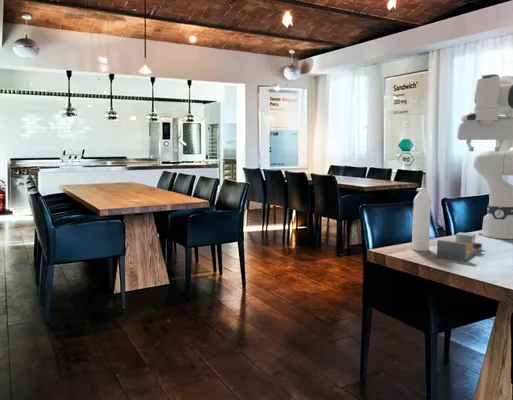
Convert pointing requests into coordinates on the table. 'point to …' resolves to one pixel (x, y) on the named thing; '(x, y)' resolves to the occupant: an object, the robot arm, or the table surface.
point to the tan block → (465, 238)
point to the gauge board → (456, 250)
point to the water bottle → (421, 221)
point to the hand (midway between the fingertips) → (484, 151)
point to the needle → (469, 246)
